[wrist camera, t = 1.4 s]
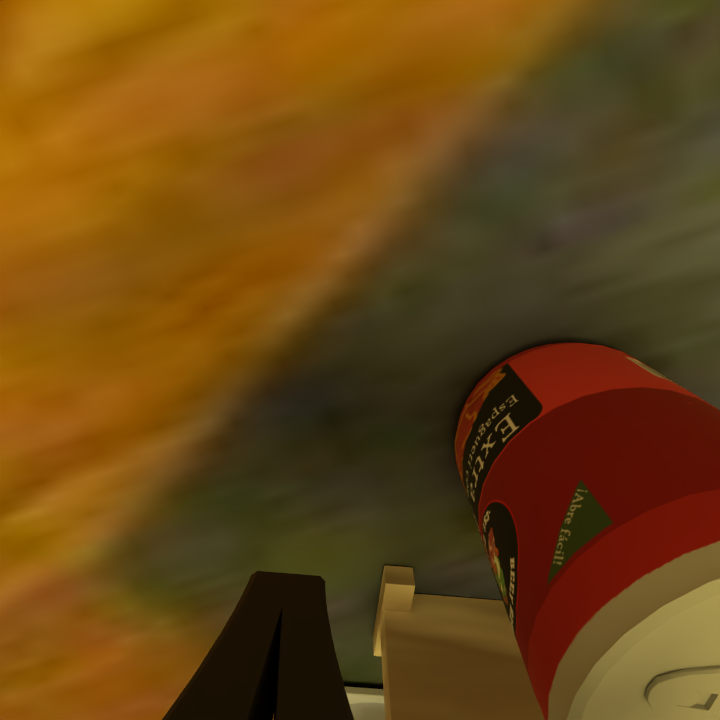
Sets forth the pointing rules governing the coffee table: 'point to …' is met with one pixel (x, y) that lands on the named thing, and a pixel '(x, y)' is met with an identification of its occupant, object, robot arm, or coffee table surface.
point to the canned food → (600, 529)
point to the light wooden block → (448, 656)
